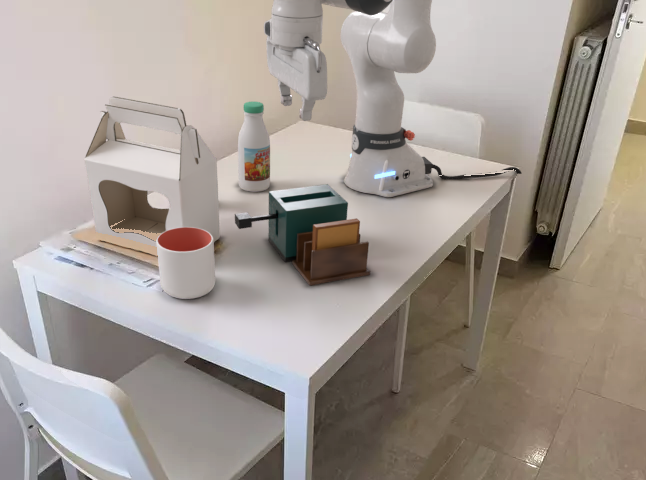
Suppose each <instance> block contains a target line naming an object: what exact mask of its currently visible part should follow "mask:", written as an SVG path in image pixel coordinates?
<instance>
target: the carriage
mask: <svg viewBox="0 0 646 480" xmlns="http://www.w3.org/2000/svg"><path fill="white" fill-rule="evenodd" d="M276 218H278V213H276V214H269V213H268V214H263V215H255V216H251V215H250V214H249V212H247V211H246V212H239V213H234V224H235V225H236V227H237V228H238V230H242V229H249V228H252V227H253V222H261V221H269V219H276Z"/></svg>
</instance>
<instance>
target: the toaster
mask: <svg viewBox="0 0 646 480" xmlns="http://www.w3.org/2000/svg"><path fill="white" fill-rule="evenodd" d="M348 209H349V202H348V201H347V200H346V199H345V198H344V197H342V195H340V194H339V193H338V192H337V191H336V190H335V189H334V188H333V187H332V186H331V185H329V184H328V183H324V184H316V185H307V186H300V187H293V188H284V189H277V190H276V189H275V190H269V191H268V215H269V214H276V213H278V218H276V219H269V220H268V240H267V241H268V243H270V245H271V246H272V247H273V248H274V250H275V251H276V252H277V253H278V255H279V256H280V257H281V259H282V260H283V261H284V263H289V262H292V260H296V256H297V234H299V233H305V232H312V231H313V225H315V224H322V223H328V222H335V221H342V220H348Z"/></svg>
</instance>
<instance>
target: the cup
mask: <svg viewBox="0 0 646 480" xmlns="http://www.w3.org/2000/svg"><path fill="white" fill-rule="evenodd" d="M214 243H215V242H213V236H212V235H211V234H210V233H209V232H207V231H206V230H203V229H200V228H194V227H179V228H174V229H170V230H167V231H165V232H163V233H161V234H160V235H159V236H158V237H157V239H156V246H157V255H158V257H157V263H158V264H157V265H158V273H159V274H158V275H159V281H160V282H159V284H160V287H161V290H162V291H163V292H164V293H165V294H167V295H169V296H170V297H173V298H176V299H181V300H192V299H197V298H201V297H203V296H205V295H207V294H209V293H210V292H211V291H212V290H213V289H214V287H215V284H216V266H215V264H216V263H215V245H214Z"/></svg>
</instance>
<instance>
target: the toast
mask: <svg viewBox="0 0 646 480" xmlns="http://www.w3.org/2000/svg"><path fill="white" fill-rule="evenodd" d="M360 227H361V220H360V219H358V218H351V219H350V218H349V219H347V220H342V221H335V222H328V223H322V224H315V225H313V238H312V250H317V249H323V248H330V247H336V246H342V245H348V244H355V243H358V239H359V233H360Z"/></svg>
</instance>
